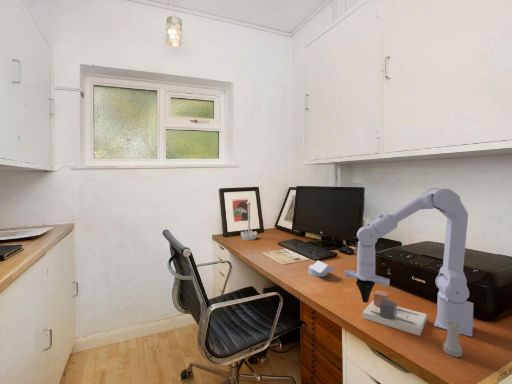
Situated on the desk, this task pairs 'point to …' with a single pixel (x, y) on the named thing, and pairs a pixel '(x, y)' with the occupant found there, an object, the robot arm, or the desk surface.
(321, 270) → the wedge on round base
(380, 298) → the brick fader
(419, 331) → the fader console
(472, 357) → the desk surface
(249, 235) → the flag stand
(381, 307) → the charcoal fader
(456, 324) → the rook chess piece
